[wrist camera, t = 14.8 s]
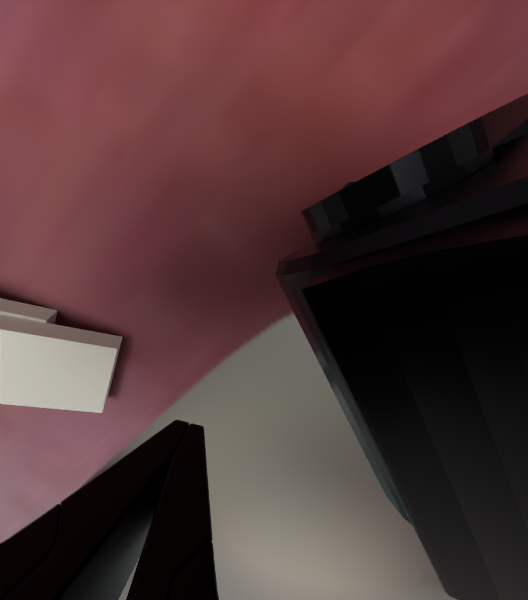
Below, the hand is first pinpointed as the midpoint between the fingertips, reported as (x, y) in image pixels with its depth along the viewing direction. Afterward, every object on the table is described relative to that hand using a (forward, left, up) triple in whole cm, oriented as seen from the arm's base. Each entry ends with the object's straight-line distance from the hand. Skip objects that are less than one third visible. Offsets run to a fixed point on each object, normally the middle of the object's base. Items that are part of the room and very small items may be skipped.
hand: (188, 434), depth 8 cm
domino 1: (+7, +6, -10) cm, 13 cm away
